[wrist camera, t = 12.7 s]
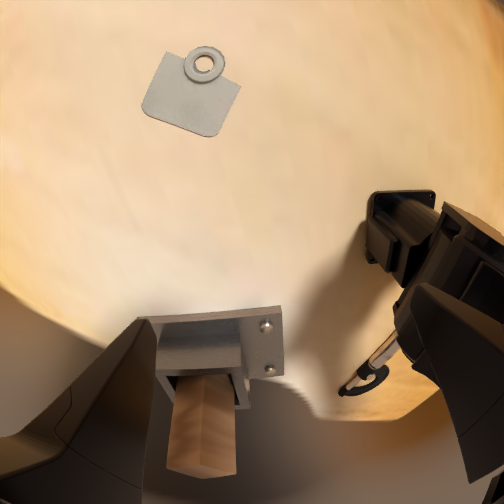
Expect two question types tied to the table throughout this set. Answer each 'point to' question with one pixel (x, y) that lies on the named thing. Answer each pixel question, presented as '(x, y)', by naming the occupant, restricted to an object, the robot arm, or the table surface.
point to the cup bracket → (220, 347)
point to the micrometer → (373, 368)
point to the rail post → (203, 427)
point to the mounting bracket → (191, 93)
